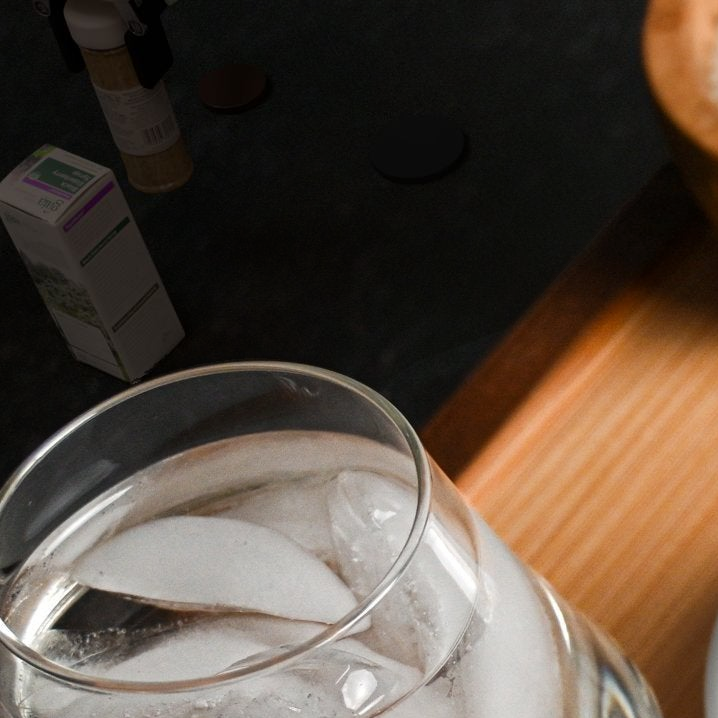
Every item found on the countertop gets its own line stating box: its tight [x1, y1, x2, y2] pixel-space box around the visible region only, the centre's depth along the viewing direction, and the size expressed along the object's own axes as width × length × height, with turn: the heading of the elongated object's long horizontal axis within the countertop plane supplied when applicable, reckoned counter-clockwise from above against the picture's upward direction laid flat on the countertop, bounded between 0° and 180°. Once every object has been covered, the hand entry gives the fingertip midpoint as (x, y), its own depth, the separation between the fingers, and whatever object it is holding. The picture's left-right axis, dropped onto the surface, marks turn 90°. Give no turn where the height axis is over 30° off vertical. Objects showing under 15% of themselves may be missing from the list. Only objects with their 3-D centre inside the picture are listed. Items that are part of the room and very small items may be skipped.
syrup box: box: [0, 143, 186, 386], centre depth 126 cm, size 6×6×14 cm
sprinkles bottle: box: [64, 0, 195, 195], centre depth 127 cm, size 5×5×14 cm
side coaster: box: [368, 113, 467, 185], centre depth 141 cm, size 7×7×1 cm
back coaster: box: [197, 62, 269, 115], centre depth 146 cm, size 5×5×1 cm
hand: (121, 65), depth 125 cm, fingers closed on sprinkles bottle, 4 cm apart
